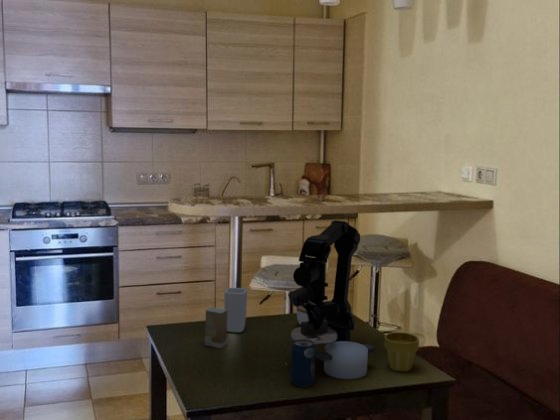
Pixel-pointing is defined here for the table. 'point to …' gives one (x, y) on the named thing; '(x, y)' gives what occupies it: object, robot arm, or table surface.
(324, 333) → the lid
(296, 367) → the soda can
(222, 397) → the table surface
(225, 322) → the skincare box
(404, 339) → the plant pot
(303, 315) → the lidded jar
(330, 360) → the pot
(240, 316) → the cup
